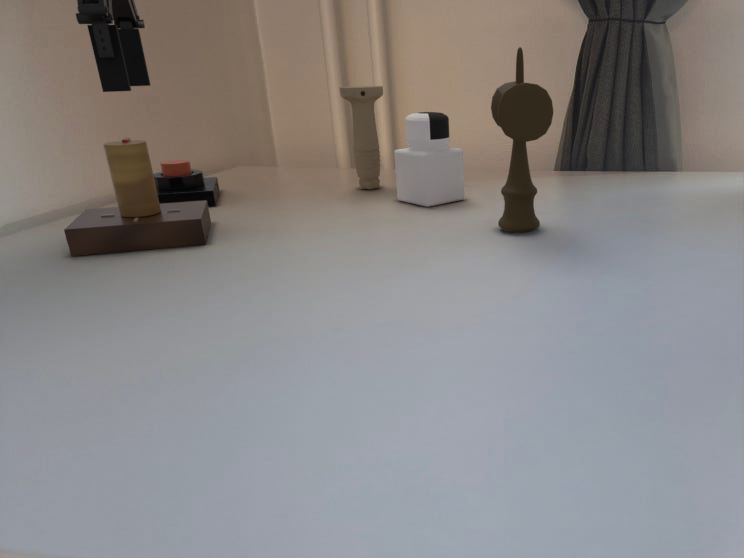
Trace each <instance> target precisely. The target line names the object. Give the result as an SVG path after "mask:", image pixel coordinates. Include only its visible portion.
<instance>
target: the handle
mask: <svg viewBox="0 0 744 558" xmlns="http://www.w3.org/2000/svg"><path fill="white" fill-rule="evenodd" d="M339 94H340V97H341V98H342V99H344V100H346V101H347V102H349V104H350V106H351V115H352V118H351V119H352V138H353V139H352V141H353V155H354V156H353V157H354V158H353V159H354V166H355V170H356V175H357V178H359V179H358V184H359V188H360V189H361V190H369V191H370V190H374V189H375V190H376V189H379V188H380V186H381V185H380V184H381V180H380V176H381V154H380V153H381V151H380V144H379V143H380V142H379V137H378V131H377V122H376V113H375V102H376V101H377V100H379V99H380V98H381V97H383V96H384V86H383V85H353V86H352V85H351V86H350V85H349V86H339Z"/></svg>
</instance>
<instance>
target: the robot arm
mask: <svg viewBox="0 0 744 558" xmlns="http://www.w3.org/2000/svg"><path fill="white" fill-rule="evenodd" d="M76 1H77V2H76V3H77V12H76V13H75V18H76V21H77V23H78V25H86V26H87V30H88V34H89V39H90V43H91V47H92V51H93V55H94V59H95V63H96V64H95V65H96V69H97V72H98V76H99V81H100V85H101V89H102V92H103V93H112V92H132V87H150V86H151V81H150V76H149V71H148V66H147V62H146V56H145V52H144V47H143V43H142V37H141V33H140V29H145V27H146V24H145V21H144V19H141V18H140V15H139V14H138V13H139V12H138V9H137V6H136V1H135V0H76Z"/></svg>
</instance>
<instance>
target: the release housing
mask: <svg viewBox="0 0 744 558" xmlns="http://www.w3.org/2000/svg"><path fill="white" fill-rule="evenodd" d="M191 171H192V174H188V175H181V176H163V174H162V171H160V172H156V173H153V175H154V180H155V184H156V189H157V194H158V198H159V203H160V204H163V203H176V202H190V201H204V200H207V203H208V207H216V206H217V202H218V198H219V194H220V191H221V190H220V185H219V180H218V179H219V178H218V177H217V176H211V177H204V172H203V170H199V169H191Z"/></svg>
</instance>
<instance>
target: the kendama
mask: <svg viewBox="0 0 744 558" xmlns="http://www.w3.org/2000/svg"><path fill="white" fill-rule="evenodd" d="M515 60H516V61H515V81H509V82H505V83H503V84H501V85H500V86H499V87H497V88H496V90H495V91H494V93H493V95H492V97H491V103H490V111H491V116H492V117H491V118H492V119H493V120H494V121H493V122H495V124H496V126H498V127H499V128H500V129H501V131H502V132H503V134H504V135H505V136H506V137H508V138H510V139H511V140H512V145H511V155H510V161H509V169H508V175H507V178H506V182H505V184H504V185H503V186H502V187H501V190H500V193H501V195H502V197H503V201H504V206H503V207H504V208H503V213H502V215H501V217H500V218H499V220H498V221H497V226H498V228H499V229H501V230H503V231H506V232H510V233H527V232H531V231H534V230H536V229H538V228H539V227H540V226H541V225H540V224H541V223H540V220H539V218H538V217H537V216H536V213H535V204H534V203H535V202H534V201H535V197H536V195H537V194H538V189H537V187H536V186H535V185H534V183H533V180H532V177H531V171H530V165H529V158H528V157H529V156H528V149H527V143H528V142H532V141H537V140H539V139H540V138H542V137H543V136H545V135H546V134H547V132H548V131H549V129H550V128H551V126H552V123H553V117H554V106H553V100H552V98H551V96H550V94H549V92H548V90H547V89H546V88H543V87H542V86H541V85H539V84H537V83H531V82H525V65H524V63H525V62H524V51H523V48H522V47H521V46H519V47H518V48H517V51H516V58H515Z"/></svg>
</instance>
